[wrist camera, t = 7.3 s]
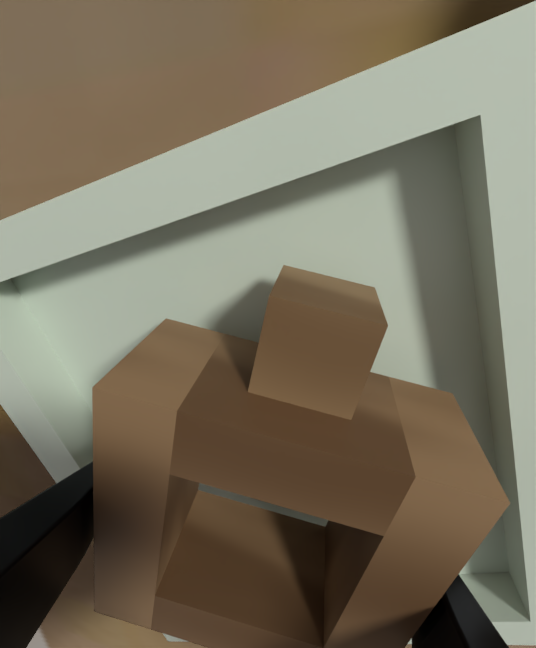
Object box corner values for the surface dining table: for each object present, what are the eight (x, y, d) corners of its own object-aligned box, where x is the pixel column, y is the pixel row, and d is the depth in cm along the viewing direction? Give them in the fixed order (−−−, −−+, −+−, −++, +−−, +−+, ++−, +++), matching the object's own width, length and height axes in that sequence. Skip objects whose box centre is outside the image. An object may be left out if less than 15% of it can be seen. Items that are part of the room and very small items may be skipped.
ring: (359, 570, 11) (367, 697, 9) (148, 508, 12) (94, 611, 9) (492, 316, 8) (584, 402, 5) (173, 237, 8) (91, 276, 5)
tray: (543, 575, 12) (579, 645, 11) (186, 587, 16) (168, 641, 14) (503, 33, 7) (564, -12, 5) (-27, 244, 11) (-101, 261, 9)
